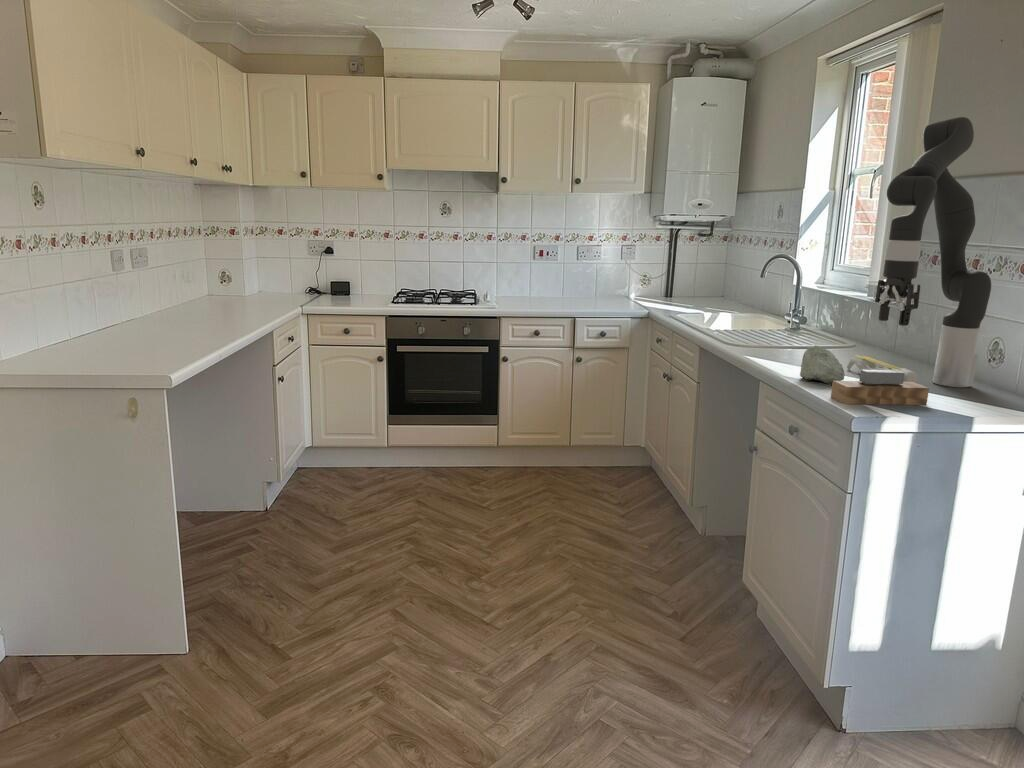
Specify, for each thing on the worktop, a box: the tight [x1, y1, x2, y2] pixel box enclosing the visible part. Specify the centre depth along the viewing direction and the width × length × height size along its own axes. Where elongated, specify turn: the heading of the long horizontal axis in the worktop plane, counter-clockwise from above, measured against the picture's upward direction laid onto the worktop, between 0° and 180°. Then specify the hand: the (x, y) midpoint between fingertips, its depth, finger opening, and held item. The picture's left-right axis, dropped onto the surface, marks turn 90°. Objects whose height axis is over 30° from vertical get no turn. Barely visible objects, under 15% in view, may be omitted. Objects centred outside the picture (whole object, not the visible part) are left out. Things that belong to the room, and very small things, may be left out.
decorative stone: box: [799, 344, 846, 385], centre depth 208 cm, size 14×11×10 cm
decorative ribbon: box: [846, 354, 918, 383], centre depth 212 cm, size 8×6×30 cm
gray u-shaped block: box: [858, 370, 905, 386], centre depth 186 cm, size 10×3×8 cm, turn 94°
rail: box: [830, 380, 930, 406], centre depth 186 cm, size 22×7×4 cm, turn 94°
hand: (893, 322), depth 183 cm, fingers open, 8 cm apart
